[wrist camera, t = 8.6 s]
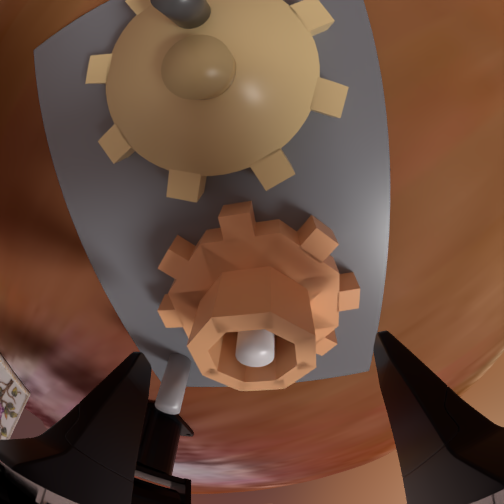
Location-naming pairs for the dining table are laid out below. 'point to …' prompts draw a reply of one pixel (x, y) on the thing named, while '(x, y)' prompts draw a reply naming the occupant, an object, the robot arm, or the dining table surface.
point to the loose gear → (257, 295)
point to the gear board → (219, 151)
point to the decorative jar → (10, 399)
